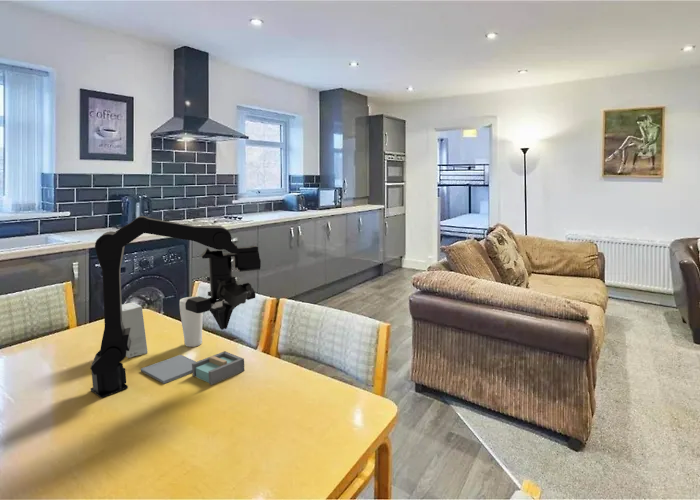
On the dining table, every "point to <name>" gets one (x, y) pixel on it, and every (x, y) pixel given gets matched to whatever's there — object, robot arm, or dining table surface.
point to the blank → (210, 367)
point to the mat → (169, 369)
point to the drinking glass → (191, 325)
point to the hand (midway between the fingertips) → (223, 329)
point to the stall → (221, 367)
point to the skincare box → (134, 328)
